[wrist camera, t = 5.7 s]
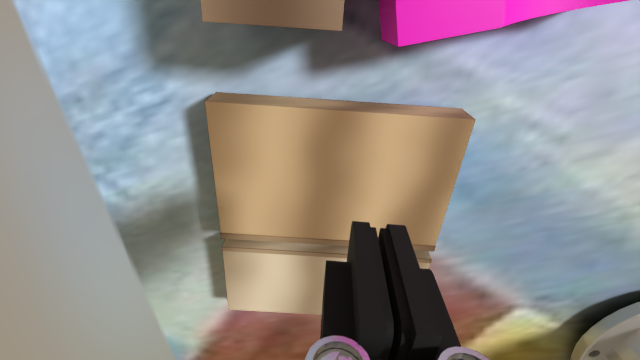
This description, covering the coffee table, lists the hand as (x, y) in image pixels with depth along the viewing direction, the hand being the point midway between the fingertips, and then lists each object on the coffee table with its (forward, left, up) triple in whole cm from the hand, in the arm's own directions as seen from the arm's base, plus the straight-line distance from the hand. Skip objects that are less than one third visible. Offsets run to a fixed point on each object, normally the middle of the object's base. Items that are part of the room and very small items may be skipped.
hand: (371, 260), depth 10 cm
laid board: (+1, +10, -11) cm, 15 cm away
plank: (+1, +7, -9) cm, 11 cm away
